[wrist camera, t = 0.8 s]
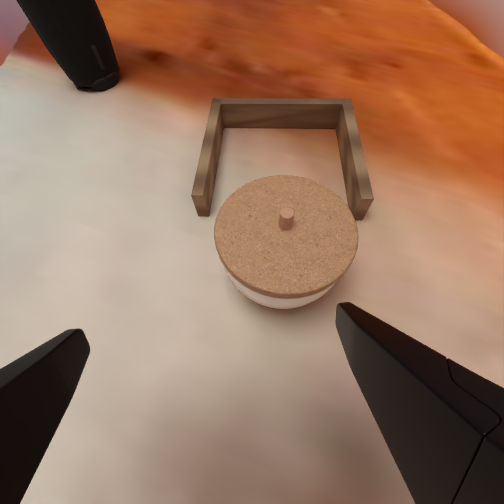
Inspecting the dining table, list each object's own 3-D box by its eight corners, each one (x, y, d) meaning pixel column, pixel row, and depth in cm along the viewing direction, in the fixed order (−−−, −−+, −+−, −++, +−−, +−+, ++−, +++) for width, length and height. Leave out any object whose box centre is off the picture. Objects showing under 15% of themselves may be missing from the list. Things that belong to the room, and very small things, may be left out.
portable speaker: (67, 77, 46) (-48, -114, 29) (119, 62, 48) (41, -124, 31) (75, 101, 42) (-53, -103, 25) (131, 84, 44) (49, -115, 27)
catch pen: (361, 220, 29) (373, 199, 26) (198, 216, 30) (191, 195, 27) (343, 123, 37) (350, 98, 34) (216, 122, 38) (212, 98, 35)
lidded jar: (256, 213, 30) (254, 143, 21) (347, 250, 27) (385, 186, 19) (205, 292, 25) (178, 241, 17) (308, 345, 22) (336, 316, 14)
